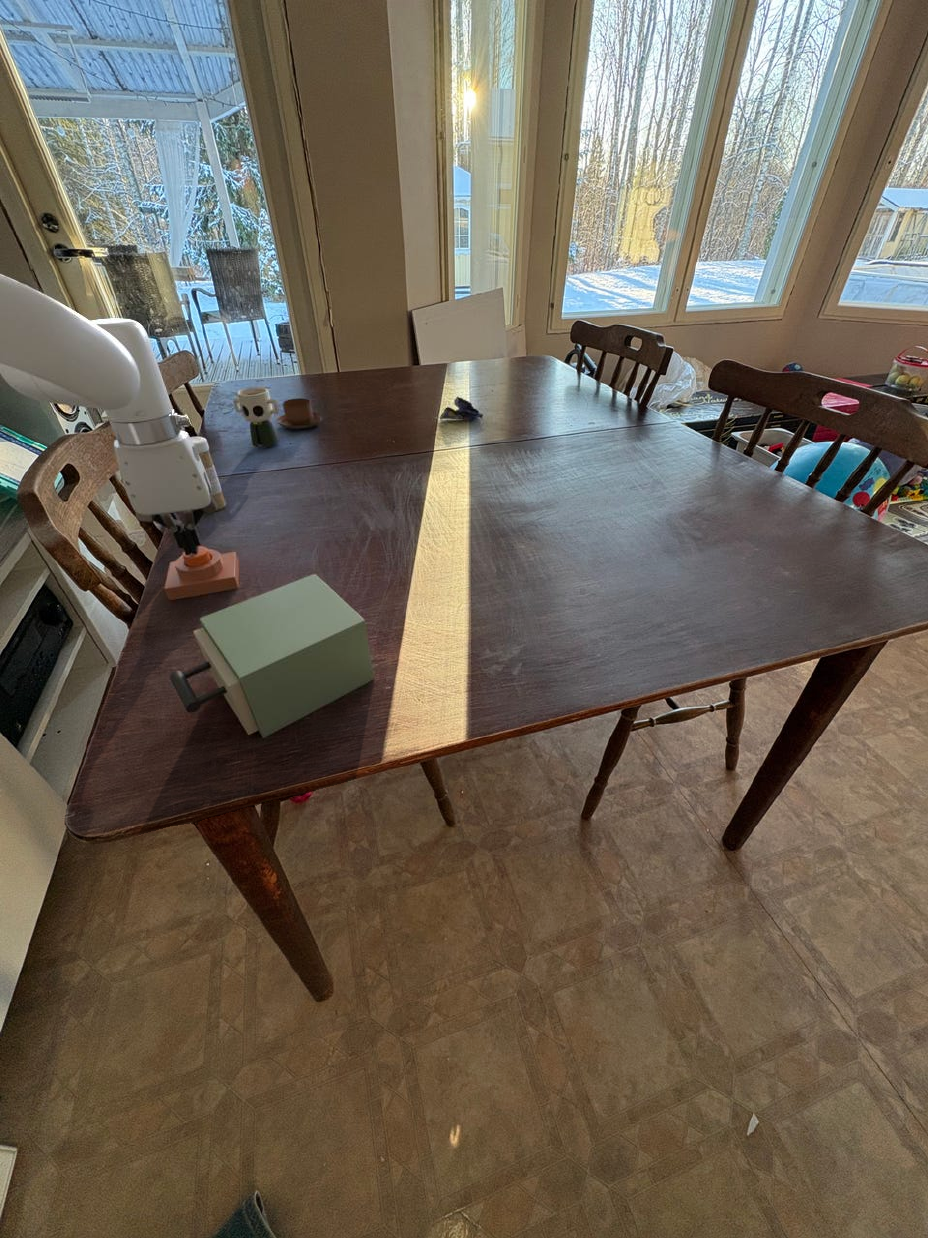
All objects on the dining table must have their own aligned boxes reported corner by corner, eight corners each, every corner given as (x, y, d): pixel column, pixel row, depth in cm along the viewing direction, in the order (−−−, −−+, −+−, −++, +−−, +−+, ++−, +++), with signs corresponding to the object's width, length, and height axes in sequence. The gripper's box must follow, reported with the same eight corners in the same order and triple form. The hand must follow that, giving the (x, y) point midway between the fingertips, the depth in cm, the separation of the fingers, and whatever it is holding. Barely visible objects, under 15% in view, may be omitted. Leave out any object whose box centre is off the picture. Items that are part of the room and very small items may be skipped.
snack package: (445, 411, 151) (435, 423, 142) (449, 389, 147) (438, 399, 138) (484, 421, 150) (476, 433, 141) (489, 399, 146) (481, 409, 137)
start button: (185, 569, 78) (181, 559, 77) (187, 557, 81) (183, 548, 80) (210, 565, 79) (206, 555, 78) (211, 553, 82) (208, 544, 80)
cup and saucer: (283, 419, 146) (278, 396, 142) (326, 418, 146) (322, 395, 142) (274, 433, 136) (268, 409, 133) (319, 432, 137) (315, 408, 133)
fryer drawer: (210, 755, 55) (185, 706, 50) (178, 695, 61) (153, 646, 57) (355, 680, 63) (346, 631, 58) (313, 634, 70) (301, 587, 65)
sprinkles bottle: (197, 509, 102) (173, 441, 93) (216, 500, 105) (194, 434, 97) (214, 513, 100) (190, 445, 92) (232, 504, 103) (211, 438, 95)
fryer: (263, 738, 57) (239, 678, 51) (223, 677, 65) (199, 618, 59) (374, 679, 65) (365, 620, 59) (327, 630, 72) (314, 573, 66)
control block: (169, 600, 78) (159, 579, 75) (174, 573, 84) (165, 552, 81) (238, 588, 80) (231, 567, 78) (239, 562, 86) (232, 541, 84)
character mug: (239, 449, 127) (223, 394, 119) (251, 439, 133) (236, 386, 124) (281, 451, 126) (269, 395, 118) (291, 440, 132) (280, 387, 124)
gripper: (209, 415, 72) (244, 531, 83) (89, 425, 68) (142, 546, 79) (206, 431, 66) (244, 554, 77) (74, 444, 62) (134, 571, 74)
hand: (192, 550), depth 78 cm, fingers closed
